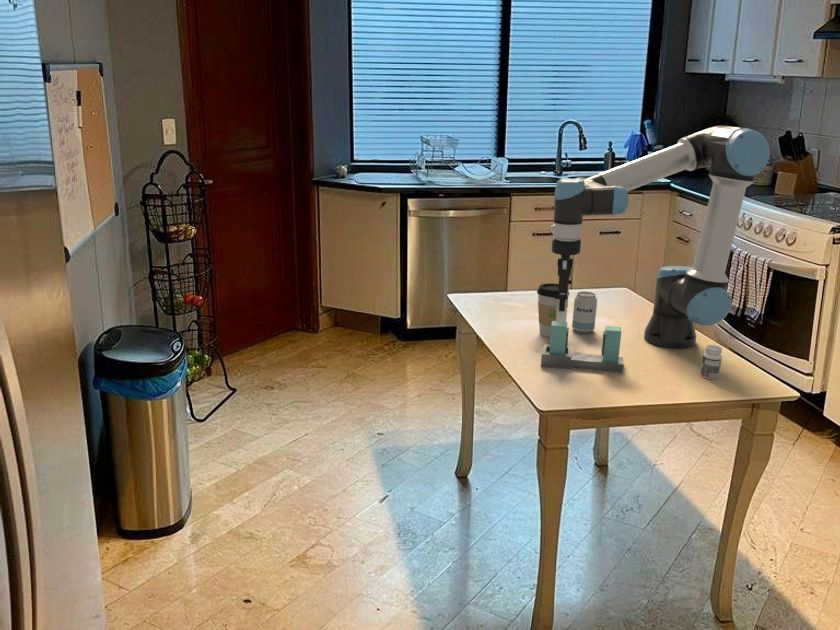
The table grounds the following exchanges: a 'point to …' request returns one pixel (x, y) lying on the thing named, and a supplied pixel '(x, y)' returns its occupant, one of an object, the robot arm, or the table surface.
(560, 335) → the block
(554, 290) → the coffee cup
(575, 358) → the grey and teal stand
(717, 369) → the pill bottle
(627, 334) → the table surface
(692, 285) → the robot arm
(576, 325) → the beverage can
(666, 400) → the table surface
